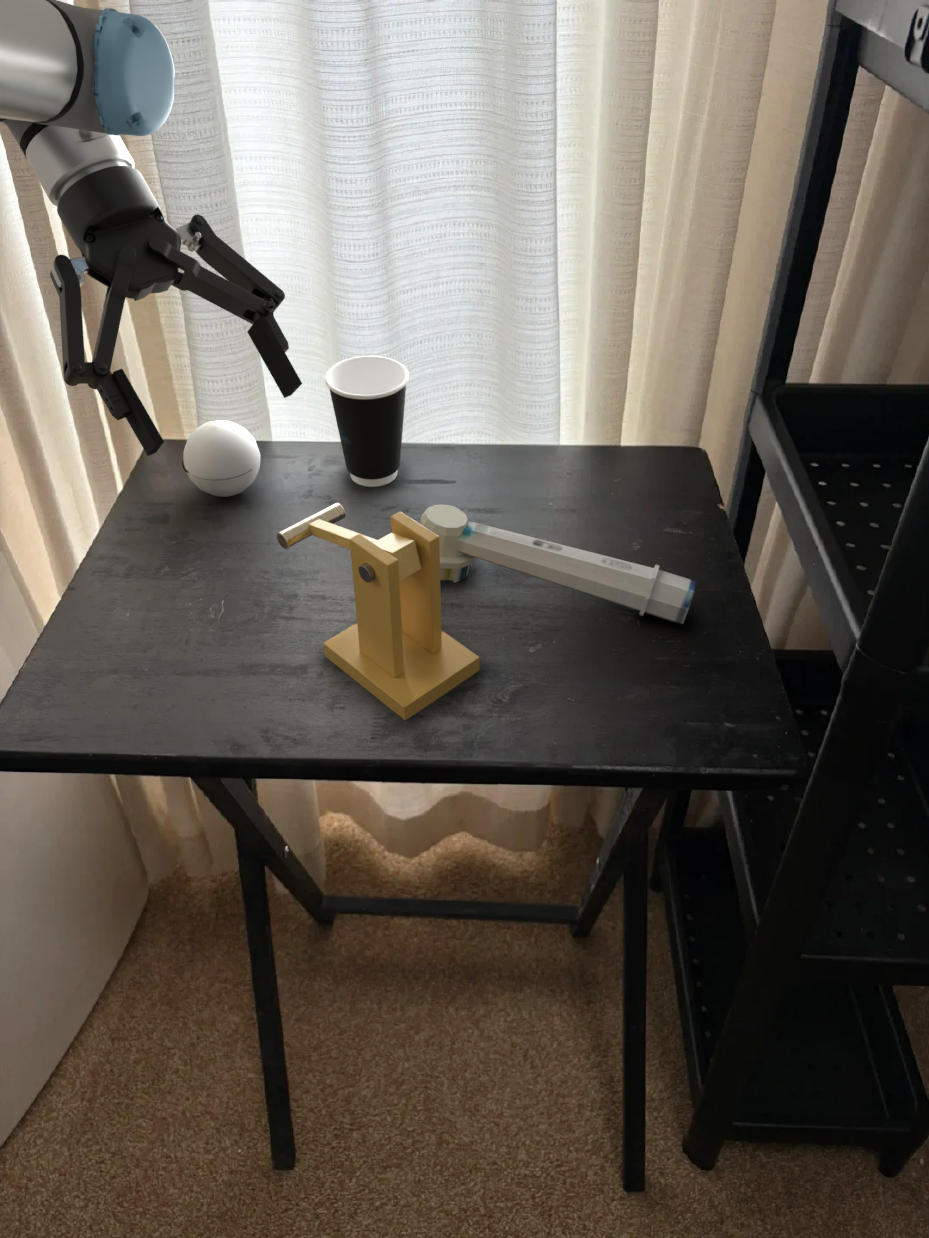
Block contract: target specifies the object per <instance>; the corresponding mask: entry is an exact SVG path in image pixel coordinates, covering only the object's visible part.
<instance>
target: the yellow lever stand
mask: <svg viewBox="0 0 929 1238" xmlns="http://www.w3.org/2000/svg"><path fill="white" fill-rule="evenodd" d="M390 525H391V526H390V527H391V529H390V530H391V533H394V534H397V535H400V536H403V537H406V538H409V539H412V540H414V541H415V543H416V548H417V552H418V556H419V561H420V565H421V569H420V570H418V571H417V572H415V573H413V574H411V575H410V576H408V577H406V578H405V579H403V580H401V581H399V568H398V560H397V559H396V558H394V557H393V556H392V555H390V554H389V553H387V552H386V551H384V550H383V549H381V548H380V547H378V546H377V545H375V544H374V543H372V542H371V541H370V540H368V539H367V538H365V537H364V536H362V535H363V534H362V533H359V534H357V535H356V536H354V537H352V538H350V539H349V542H350V549H349V552H350V561H351V562H350V563H351V573H352V583H353V594H354V595H353V596H354V604H355V615H356V623H354V624H353V625H351V626H349V627H347V628H346V629H344V630H342V631H341V632H339V633H338V634H336V635H334V636H333V637H331V638H329V639H327V640H326V641H324V642H322V643H323V652H324V657H325V658H327V659H328V660H329V661H330V662H332V663H333V664H334V665H335V666H337V667H338V668H339V669H340V670H341V671H342V672H344V673H345V674H347V675H348V676H349V677H350V678H351V679H352V680H354V681H355V682H357V684H359V685H360V686H361V687H362V688H363V689H364V690H366V691H367V692H369V694H371V695H373V696H374V697H375V698H376V699H377V700H379V701H380V702H381V703H383V704H384V705H385V706H386V707H388V708H389V709H390V711H393V713H395V714H396V715H398V716H399V717H400V718H401V719H402V720H404V721H407V720H409V719H410V718H412V717H413V716H414V715H416V714H417V713H419V712H421V711H422V710H423V709H425V708H426V707H428V706H429V705H430V704H432V703H434V702H435V701H437V700H438V699H439V698H441V697H442V696H444V695H445V694H447V693H449V692H450V691H452V690H453V689H454V688H456V687H457V686H459V685H460V684H462V683H463V682H465V681H466V680H468V679H469V678H471V677H472V676H473V675H475V674H476V673H478V672H479V671H480V668H481V667H480V662H481V661H480V659H481V658H480V656H479V655H477V654H476V653H475V652H473V651H472V650H470V649H469V648H468V647H466V646H465V645H463V644H462V643H460V642H459V641H458V640H456V639H455V638H454V637H452V636H451V635H449V634H448V633H447V632H445V631H444V630H442V597H441V596H442V595H441V592H442V591H441V580H440V546H439V536H438V535H436V534H435V533H433V532H432V531H430V530H428V529H427V528H425V527H424V526H422V525H421V524H420V522H418V521H417V520H414V518H412V517H410V516H408V515H407V514H405V513H403V512H402V511H398V512H396V513H395V514H392V515H391V516H390ZM361 534H362V535H361Z"/></svg>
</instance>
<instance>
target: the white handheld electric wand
mask: <svg viewBox="0 0 929 1238" xmlns="http://www.w3.org/2000/svg"><path fill="white" fill-rule="evenodd" d="M419 524H421V525H422V526H424V527H425V528H427V529H428V530H430V531H432V532H433V533H435V534H436V535H438V536H439V546H440V581H452V582H453V583H458V582H460V581H463V580H465V579H466V578H467V576H468V575H469V573H470V571H471V565H473V564H474V562H475V561H476V559H479V560H482V561H485V562H489V563H491V564H495V565H497V566H500V567H503V568H506V569H510V570H513V571H516V572H518V573H522V574H525V575H528V576H531V577H534V578H536V579H540V580H544V581H546V582H549V583H552V584H555V585H559V586H562V587H564V588H568V589H570V590H574V591H577V592H580V593H583V594H585V595H589V596H591V597H595V598H598V599H601V600H604V601H606V602H611V603H613V604H616V605H620V606H623V607H625V608H628V609H631V610H635V611H638V612H639V614H638V616H640V617H644V614H647V615H651V616H653V617H657V618H659V619H663V620H666V621H669V622H672V623H674V624H675V623H676V624H679V625H683V624H684V623H685V620H686V617H687V614H688V612H689V610H690V606H691V603H692V600H693V597H694V594H695V590H696V586H697V582H698V581H696V580H694V579H690V578H686V577H684V576H680V575H677V574H674V573H670V572H667V571H664V570H661V569H660V565H659V564H655V566H654V567H651V566H647V565H643V564H640V563H635V562H631V561H627V560H623V559H619V558H616V557H613V556H612V557H611V556H607V555H605V554H604V555H603V554H601V553H597V552H592V551H589V550H584V549H580V548H577V547H572V546H568V545H564V544H561V543H557V542H554V541H549V540H545V539H541V538H537V537H533V536H529V535H526V534H521V533H518V532H513V531H510V530H506V529H502V528H498V527H494V526H491V525H486V524H483V523H479V522H474V521H471V520H469V519H468V516H467V514H466V513H465V512H464V511H462V510H461V509H460V508H458V507H456V506H453V505H449V504H434V505H431V506H428V507H427V509H426V510H425V511H424V512H423V513H422V515H421V517H420V520H419Z"/></svg>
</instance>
